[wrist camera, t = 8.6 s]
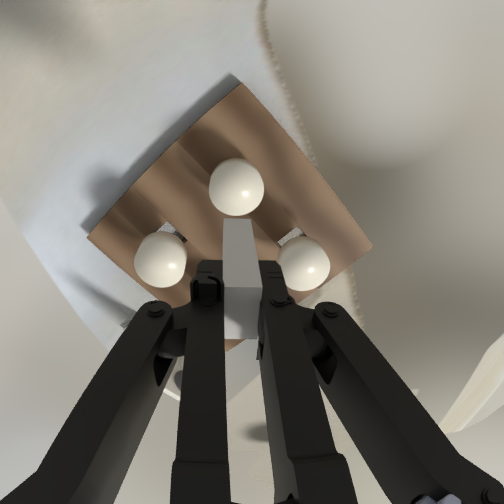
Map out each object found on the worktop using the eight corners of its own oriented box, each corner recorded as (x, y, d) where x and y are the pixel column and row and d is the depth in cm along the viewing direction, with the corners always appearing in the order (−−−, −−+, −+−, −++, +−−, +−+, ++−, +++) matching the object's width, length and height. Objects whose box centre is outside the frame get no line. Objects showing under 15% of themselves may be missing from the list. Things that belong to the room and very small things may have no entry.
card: (141, 313, 41) (127, 362, 33) (205, 359, 46) (203, 408, 38) (124, 328, 42) (109, 375, 34) (186, 371, 47) (182, 419, 39)
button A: (237, 144, 31) (239, 152, 27) (269, 179, 33) (275, 192, 30) (200, 176, 33) (197, 188, 29) (233, 209, 35) (234, 226, 31)
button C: (164, 213, 32) (156, 232, 28) (198, 245, 34) (195, 267, 30) (134, 243, 34) (124, 264, 30) (167, 272, 36) (161, 296, 32)
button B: (301, 219, 34) (311, 237, 30) (327, 250, 36) (339, 270, 32) (265, 247, 35) (270, 269, 31) (292, 276, 37) (300, 299, 33)
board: (241, 82, 29) (242, 82, 28) (369, 242, 39) (373, 247, 37) (89, 233, 35) (86, 237, 34) (226, 345, 45) (226, 351, 44)
